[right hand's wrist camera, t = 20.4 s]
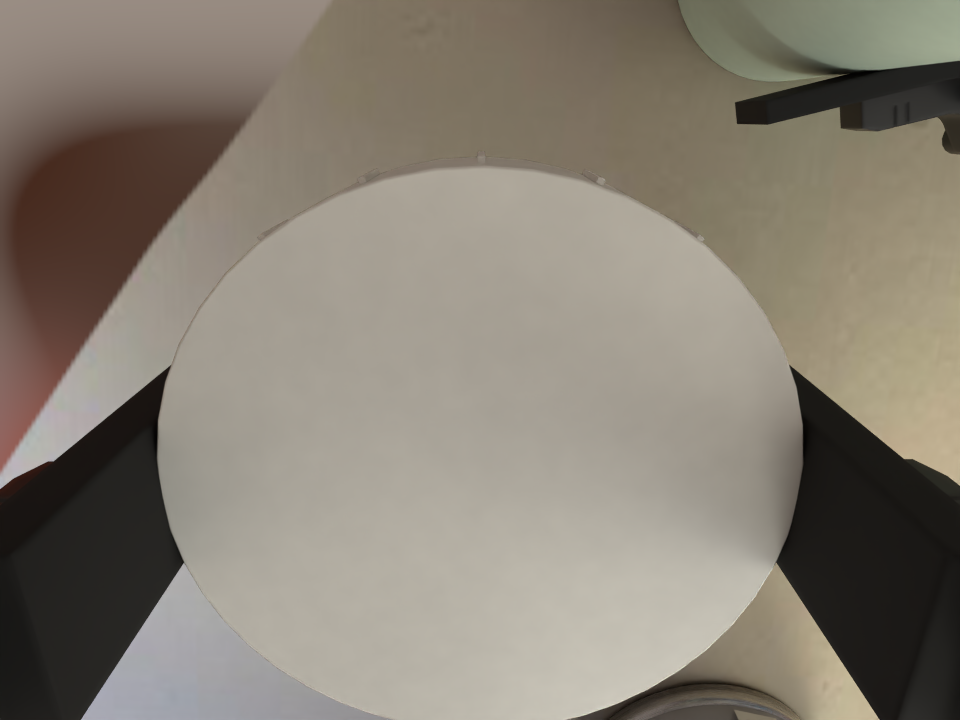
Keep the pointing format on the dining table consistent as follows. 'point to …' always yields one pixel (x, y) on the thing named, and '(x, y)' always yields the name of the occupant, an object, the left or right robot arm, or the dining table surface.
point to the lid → (480, 444)
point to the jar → (822, 35)
